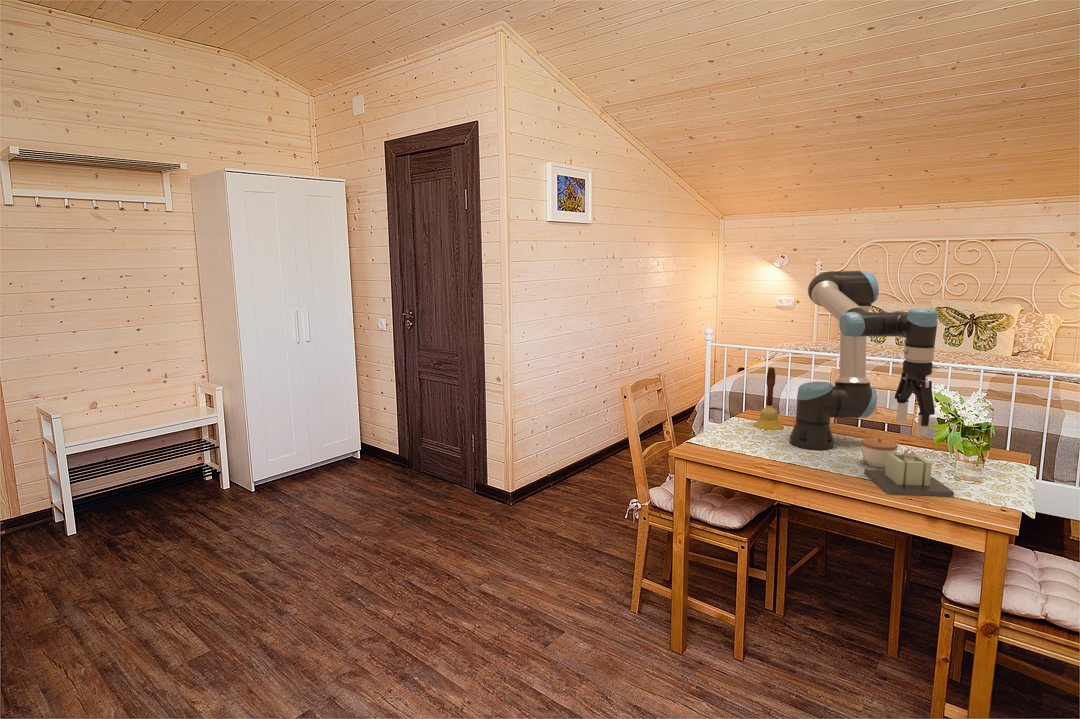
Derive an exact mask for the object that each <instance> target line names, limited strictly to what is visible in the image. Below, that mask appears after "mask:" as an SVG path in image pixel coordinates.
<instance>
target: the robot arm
mask: <svg viewBox="0 0 1080 719" xmlns="http://www.w3.org/2000/svg"><path fill="white" fill-rule="evenodd" d="M879 290H880V288H879V283H878V280H877V278H876V276H875V275H874V274H873V273H872V272H871V271H861V270H848V271H847V270H843V271H842V270H840V271H839V270H838V271H836V270H835V271H834V270H833V271H832V270H831V271H830V270H829V271H824V272H822V273H819V274H817V275H815V276H814V277H813V278H812V280H811V281H810V283H809V284H808V287H807V294H808V297H809V299H810V300H811V301H812V303H814V304H815V305H817V306H818V307H819V306H820V307H823V308H824V309H825V310H826V311H827V312H829V314H831V315H832V316H833V317H834V318H835V319H836V320H837V321H838V323H839V324H838V327H839V331H840V334H839V335H840V336H839V339H840V340H839V342H840V343H839V344H840V345H839V376H838V378H837V379H836V380H835V382H834V385H833V383H831V382H829V381H810V382H804V383H803V384H800V385H799V386H798V388H797V395H796V413H795V414H796V416H795V424H794V426H793V428H792V431H791V432H790V435H789V443H790V445H792V446H794V447H797V448H800V447H801V449H805V450H814V451H815V450H816V451H825V450H831V449H833V448H834V445H835V444H834V443H835V442H834V441H835V440H834V437H833V433H832V430H831V427H830V426H831V424H830V423H831V419H832V418H840V419H842V418H843V419H844V418H845V419H847V418H849V419H861V418H862V419H866V418H868V417H870V416H871V415H872V414H873V413H874V411H875V409H876V407H877V404H878V403H877V402H878V394H877V390H876V389H875V388H874V386H871V381H870V380H869V379H868V378H867V377H866V375H867V372H866V371H867V370H866V369H867V366H866V365H867V337H900V338H901V337H902V338H904V339H905V341H904V349H903V350H902V351H903V358H904V359H905V360H903V361H902V372H901V377H900V381H899V382H898V383H899V384H898V386H897V389H896V391H895V394H894V399H895V400H896V402H897V408H896V409H897V410H896V419H895V424H900V425H902V424H904V425H906V424H907V420H908V411H909V410H908V408H909V402H910V401H909V399H910V397H911V396H912V394H914V395H915V397H916V401H917V405H918V409H919V412H918V413H917V426H916V433H915V434H916V437H928V436H929V424H930V418H931V416H932V415H935V414H936V411H935V404H934V397H933V396H934V395H933V382H932V380H927V376H931V375H932V373H933V365H934V364H933V361H934V357H935V356H934V355H935V348H936V347H935V345H936V344H935V343H936V337H937V327H938V323H939V321H938V311H937V309H935V308H926V307H925V308H924V307H920V308H919V307H917V308H916V307H915V308H913V307H912V308H910V309H909V310H908V312H906V311H903V310H901V311H900V310H897V311H892V312H890V311H888V312H887V311H883V312H878V311H875V312H874V311H873V312H871V311H869V310H870V309H872V304H874V303H876V302H877V300H878V296H879V294H880V293H879V292H880V291H879Z"/></svg>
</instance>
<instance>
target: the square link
mask: <svg viewBox="0 0 1080 719" xmlns="http://www.w3.org/2000/svg"><path fill="white" fill-rule="evenodd" d="M932 466H933V463H932V462H931V461H929V460H928V459H926V458H925V457H923V456H921V455H919V453H915V461H905V462H904V461H903V453H894V454H892V453H887V457H886V467H885V468H884V470H885V475H886V476H888V477H889V478H890V479H891V480H893V481H894V482H895V483H896V484H898V485H903V483H904V484H905V485H922V484H923V485H924V486H930V477H932ZM904 468H905V471H904ZM903 479H904V482H903Z"/></svg>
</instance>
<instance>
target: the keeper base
mask: <svg viewBox="0 0 1080 719" xmlns="http://www.w3.org/2000/svg"><path fill="white" fill-rule="evenodd" d="M902 454H903V461H904V462H905V461H915V454H916V452H915V451H913V450H912V449H905V450H904V452H903V453H902ZM904 471H905V468H904ZM863 474H864V475H865V476H866V477H867V478H869V480H871V481H872V482H873V483H874V484H875V485H877V487H878V488H879V489H881V490H883V492H884V493H886V494H887V495H899V496H920V497H921V496H922V497H925V496H926V497H941V498H942V497H944V498H945V497H946V498H947V497H948V498H950V497H951V498H955V496H954V495H955V492H954V491H953V490H952V489H950V488H949V487H948V486H946V485H945V484H943V483H942V482H940V481H938V480H937V479H936V478H934V477H933V476H931V477H930V486H924V485H923V484H922V485H905V484H904V483H903V485H898V484H896V483H895V482H894V481H893V480H891V479H890V478H889V477H888V476H886V475H885V469H870V468H869V469H868V468H867V469H865V468H864V472H863ZM903 482H904V479H903Z"/></svg>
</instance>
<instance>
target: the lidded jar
mask: <svg viewBox="0 0 1080 719" xmlns="http://www.w3.org/2000/svg"><path fill="white" fill-rule="evenodd" d="M898 448H899V447H898V443H896V442H894V441H891V440H888V439H883V438H882V437H877V438H875V437H873V438H872V437H870V438H863V439H862V440H861V448H860V450H861V455H862V457H863V460H864V461H865V462H866V463H867V465H868V466H871V467H873V468H874V467H875V468H883V469H885V468H886V457H887V453H892V454H894V453H897V452H898Z"/></svg>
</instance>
